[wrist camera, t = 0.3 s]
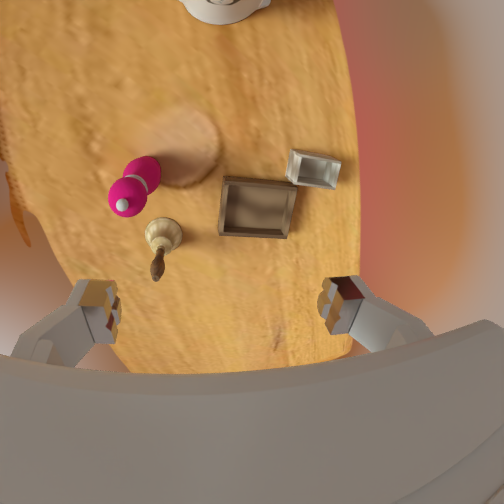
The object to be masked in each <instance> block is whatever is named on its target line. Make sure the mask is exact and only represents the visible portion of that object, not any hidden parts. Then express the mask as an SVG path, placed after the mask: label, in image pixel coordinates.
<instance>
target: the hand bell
mask: <svg viewBox="0 0 504 504" xmlns="http://www.w3.org/2000/svg"><path fill="white" fill-rule="evenodd" d="M145 238H146V241H147V243H148V244H149V246H150V247H151V249H152V251H153V252H154V253H155V254H156V257H155V259H154V260H153V261H152V264H151V268H150V272H151V275H152V279H153V281H155V282H157V281H159V279H160V278H161V276H162V275H163V273H164V270H165V263H164V260H163V258H164V256H165V255H167V254H169V253H170V252H171V251H172V250H174V249H175V248H177V247H178V246H179V244H180V243H181V240H182V230H181V228H180V226H179V225H178V224H177V223H176V222H175V221H174V220H172V219H169V218H157V219H154V220H153V221H151V222H150V223H149V224H148V226H147V228H146V230H145Z"/></svg>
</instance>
